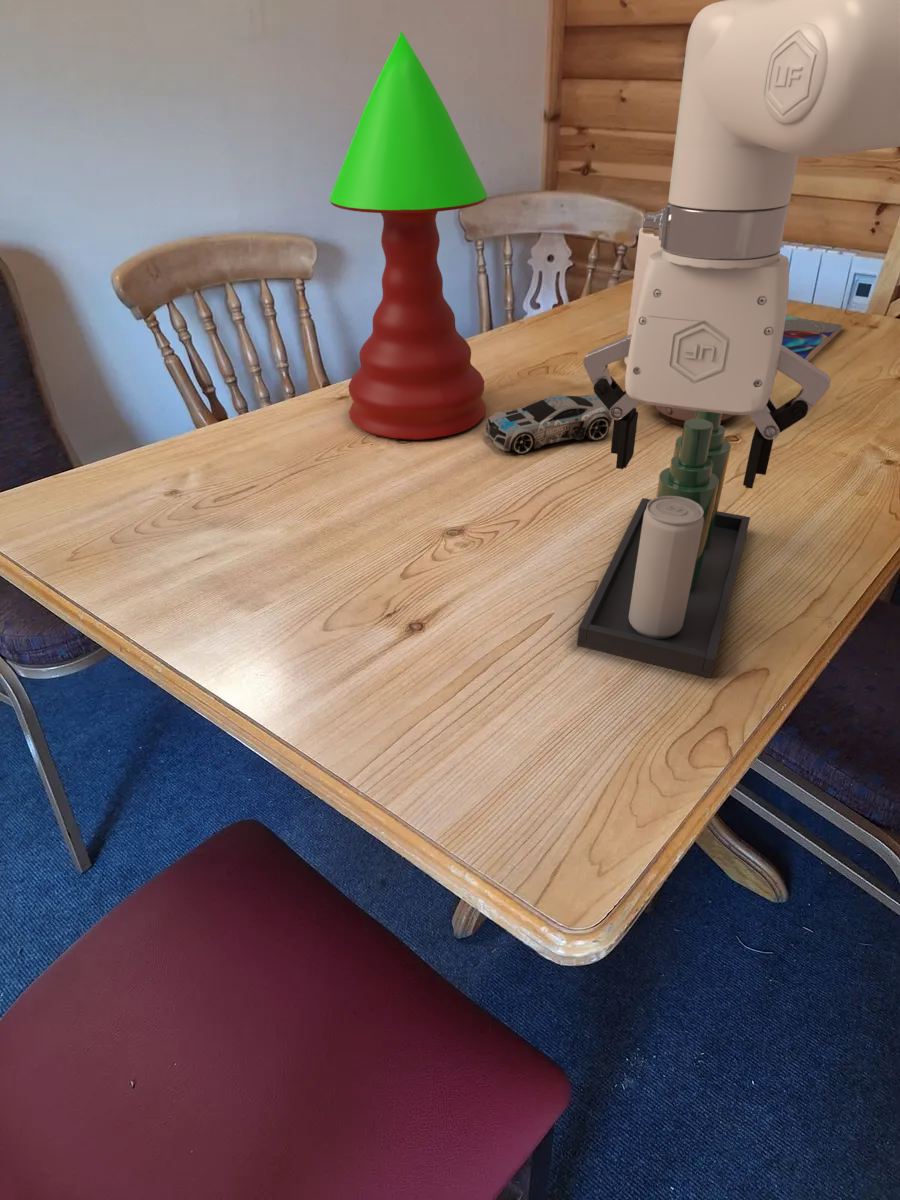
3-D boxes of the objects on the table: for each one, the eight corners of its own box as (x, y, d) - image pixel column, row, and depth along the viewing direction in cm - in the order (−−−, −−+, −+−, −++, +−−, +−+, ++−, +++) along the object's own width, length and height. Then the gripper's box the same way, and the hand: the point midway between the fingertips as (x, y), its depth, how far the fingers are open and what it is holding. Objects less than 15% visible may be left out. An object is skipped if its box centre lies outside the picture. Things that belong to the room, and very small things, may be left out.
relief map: (757, 317, 149) (760, 306, 148) (841, 330, 142) (844, 319, 140) (708, 353, 133) (710, 341, 131) (799, 370, 125) (802, 357, 124)
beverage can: (644, 603, 73) (662, 489, 66) (691, 623, 70) (715, 506, 63) (617, 627, 70) (633, 510, 63) (666, 649, 68) (688, 529, 61)
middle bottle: (702, 571, 77) (734, 416, 68) (693, 599, 74) (725, 439, 64) (649, 560, 79) (674, 408, 70) (638, 587, 75) (662, 430, 66)
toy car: (479, 437, 106) (479, 402, 103) (588, 417, 111) (591, 383, 108) (501, 459, 100) (502, 422, 97) (616, 437, 105) (620, 402, 102)
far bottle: (714, 532, 83) (744, 386, 74) (706, 557, 79) (738, 405, 70) (665, 523, 85) (689, 379, 76) (655, 547, 81) (679, 397, 72)
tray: (746, 533, 84) (750, 516, 83) (710, 678, 65) (715, 659, 64) (639, 514, 88) (642, 497, 87) (576, 645, 69) (578, 626, 68)
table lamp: (378, 453, 102) (346, 30, 76) (331, 403, 117) (291, 33, 91) (510, 425, 109) (522, 27, 83) (450, 381, 124) (444, 31, 97)
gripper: (579, 238, 51) (565, 474, 61) (866, 251, 45) (800, 510, 55) (607, 220, 57) (590, 438, 67) (866, 229, 51) (806, 468, 61)
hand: (685, 471), depth 61 cm, fingers open, 9 cm apart
